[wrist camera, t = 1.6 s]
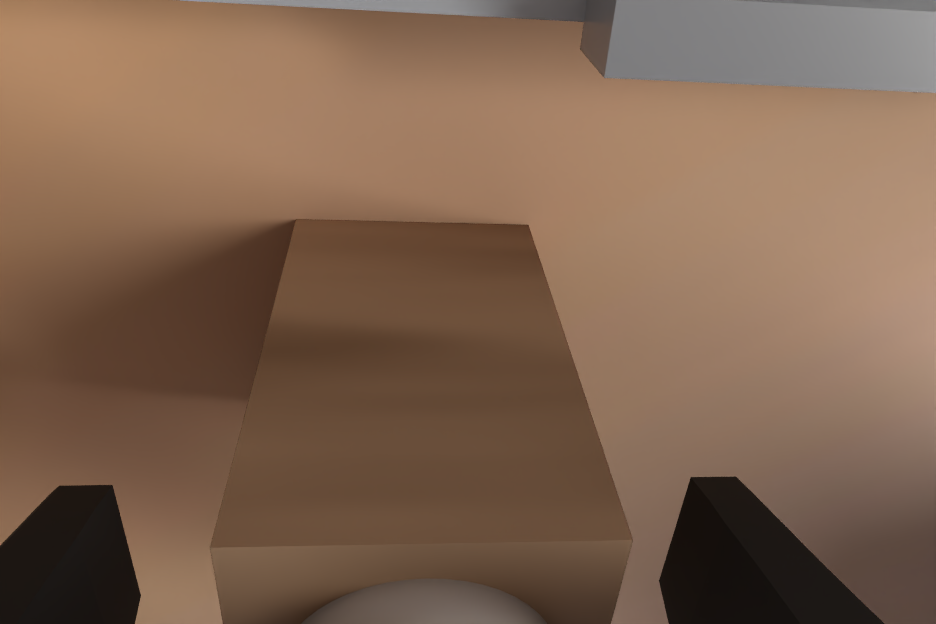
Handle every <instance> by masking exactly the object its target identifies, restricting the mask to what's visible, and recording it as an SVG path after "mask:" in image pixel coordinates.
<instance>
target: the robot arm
mask: <svg viewBox="0 0 936 624" xmlns="http://www.w3.org/2000/svg"><path fill="white" fill-rule="evenodd" d="M659 582H660V587H661V591H662V596H663V600H664V604H665V609H666V613H667V618H668V622H669V624H884V623H883V622H882V621H881V620H880V619H879V618H878V617H877V616H876V615H875V614H874V613H873V612H872V611H871V610H870V609H869V608H867V607H866V606H865V605H864V604H863V603H862V602H861V601H860V600H859V599H858V598H857V597H856V596H855V595H854V594H853V593H852V592H851V591H850V590H849V589H848V588H847V587H846V586H845V585H844V584H843V583H842V582H841V581H840V580H839V579H838V578H837V577H836V576H835V575H834V574H833V573H832V572H830V571H829V570H828V569H827V568H826V567H825V566H824V565H823V564H822V563H821V562H820V561H819V560H818V559H817V558H816V557H815V556H814V555H813V554H812V553H811V552H810V551H809V550H808V549H807V548H806V547H805V546H804V545H803V544H802V543H801V542H800V540H799V539H798V538H797V537H796V536H795V535H794V534H793V533H792V532H791V531H790V530H789V529H788V528H787V527H786V526H785V525H784V524H783V523H782V522H781V521H780V520H779V519H778V518H777V517H776V516H775V515H774V514H773V513H772V512H771V511H770V510H769V509H768V508H767V507H766V506H765V505H764V504H763V503H762V502H761V501H760V500H759V499H758V498H757V497H756V496H755V495H754V494H753V493H752V492H751V491H750V490H749V489H748V488H747V487H746V486H745V485H744V484H743V483H742V482H741V481H740V480H739V479H738V478H737V477H691V479H690V482H689V485H688V488H687V492H686V495H685V498H684V501H683V505H682V508H681V511H680V514H679V518H678V521H677V524H676V528H675V531H674V534H673V537H672V541H671V544H670V547H669V550H668V554H667V557H666V560H665V563H664V567H663V570H662V573H661V577H660V580H659ZM140 597H141V594H140V590H139V587H138V583H137V579H136V575H135V571H134V567H133V563H132V559H131V555H130V552H129V548H128V544H127V540H126V536H125V532H124V528H123V524H122V521H121V517H120V513H119V509H118V505H117V501H116V497H115V493H114V489H113V486H112V485H82V486H59V487H57V488H56V489H55V490H54V491H53V492H52V493H51V494H50V495H49V496H48V497H47V498H46V499H45V500H44V501H43V502H42V503H41V504H40V505H39V506H38V507H37V508H36V509H35V510H34V511H33V512H32V513H31V514H30V515H29V516H28V517H27V518H26V520H25V521H24V522H23V523H22V524H21V525H20V526H19V527H18V528H17V529H16V530H15V531H14V532H13V533H12V534H11V535H10V536H9V537H8V538H7V539H6V540H5V541H4V542H3V544H2V545H1V546H0V624H135V620H136V615H137V611H138V606H139V602H140Z"/></svg>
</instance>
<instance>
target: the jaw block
mask: <svg viewBox="0 0 936 624" xmlns="http://www.w3.org/2000/svg"><path fill="white" fill-rule="evenodd" d="M632 542H633V539H632V536H631V533H630V530H629V527H628V524H627V521H626V518H625V515H624V512H623V509H622V506H621V503H620V500H619V497H618V494H617V491H616V488H615V485H614V482H613V479H612V476H611V473H610V470H609V467H608V464H607V461H606V458H605V455H604V452H603V448H602V445H601V442H600V439H599V436H598V433H597V430H596V427H595V424H594V421H593V418H592V415H591V412H590V409H589V406H588V403H587V400H586V397H585V394H584V391H583V388H582V385H581V382H580V379H579V376H578V373H577V370H576V367H575V364H574V361H573V358H572V355H571V352H570V349H569V346H568V343H567V340H566V337H565V334H564V331H563V328H562V325H561V322H560V319H559V316H558V313H557V310H556V307H555V304H554V301H553V298H552V295H551V292H550V289H549V286H548V283H547V280H546V277H545V274H544V271H543V268H542V265H541V262H540V259H539V256H538V253H537V250H536V247H535V244H534V241H533V238H532V235H531V232H530V229H529V226H528V225H507V224H468V223H428V222H388V221H349V220H309V219H296V222H295V225H294V229H293V233H292V237H291V241H290V245H289V248H288V252H287V256H286V260H285V264H284V267H283V271H282V275H281V279H280V283H279V287H278V290H277V294H276V298H275V302H274V306H273V309H272V313H271V317H270V321H269V325H268V328H267V332H266V336H265V340H264V344H263V348H262V351H261V355H260V359H259V363H258V367H257V370H256V374H255V378H254V382H253V386H252V389H251V393H250V397H249V401H248V405H247V409H246V412H245V416H244V420H243V424H242V428H241V431H240V435H239V439H238V443H237V447H236V451H235V454H234V458H233V462H232V466H231V470H230V473H229V477H228V481H227V485H226V489H225V492H224V496H223V500H222V504H221V508H220V512H219V515H218V519H217V523H216V527H215V531H214V534H213V538H212V542H211V546H210V550H211V556H212V562H213V568H214V574H215V580H216V585H217V591H218V597H219V603H220V609H221V615H222V620H223V624H611V621H612V617H613V613H614V610H615V606H616V602H617V598H618V595H619V591H620V587H621V583H622V580H623V576H624V572H625V568H626V564H627V561H628V557H629V553H630V549H631V546H632Z"/></svg>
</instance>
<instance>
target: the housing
mask: <svg viewBox="0 0 936 624" xmlns="http://www.w3.org/2000/svg"><path fill="white" fill-rule="evenodd" d="M182 1H201V2H220V3H239V4H258V5H276V6H295V7H314V8H333V9H352V10H371V11H389V12H408V13H427V14H446V15H465V16H483V17H502V18H521V19H540V20H559V21H578V22H584V25H583V32H582V40H581V47H580V50H581V51H582V52H583V53H584V54H585V56H586V57H587V58H588V59H589V60H590V62H591V63H592V64H593V65H594V66H595V67H596V69H597V70H598V71H599V72H600V73H601V75H602V76H603V77H604V78H620V79H641V80H663V81H685V82H707V83H729V84H751V85H773V86H795V87H817V88H839V89H861V90H883V91H905V92H927V93H936V0H182Z"/></svg>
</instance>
